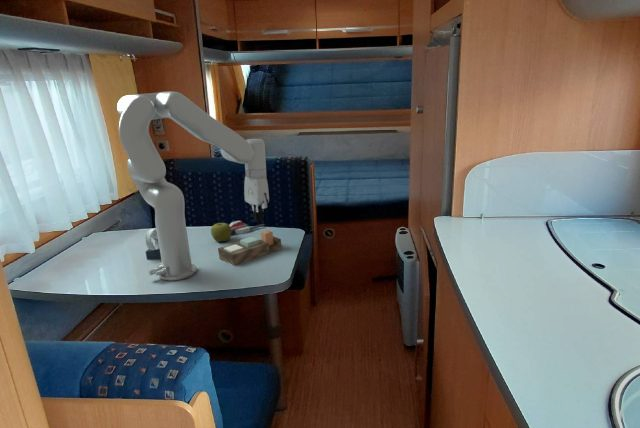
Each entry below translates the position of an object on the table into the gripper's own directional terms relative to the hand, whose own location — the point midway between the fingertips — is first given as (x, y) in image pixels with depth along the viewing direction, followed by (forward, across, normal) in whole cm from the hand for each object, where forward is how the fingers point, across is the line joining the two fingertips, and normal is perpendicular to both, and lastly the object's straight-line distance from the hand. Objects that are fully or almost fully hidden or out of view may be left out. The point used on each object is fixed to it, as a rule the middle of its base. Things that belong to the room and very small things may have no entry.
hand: (258, 221), depth 176 cm
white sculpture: (+13, -23, -31) cm, 41 cm away
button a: (+10, +2, -12) cm, 16 cm away
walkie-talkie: (+11, -25, +7) cm, 28 cm away
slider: (+9, +3, +1) cm, 9 cm away
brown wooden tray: (+11, +2, -5) cm, 12 cm away
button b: (+9, +2, -5) cm, 10 cm away
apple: (+12, -19, -5) cm, 23 cm away
